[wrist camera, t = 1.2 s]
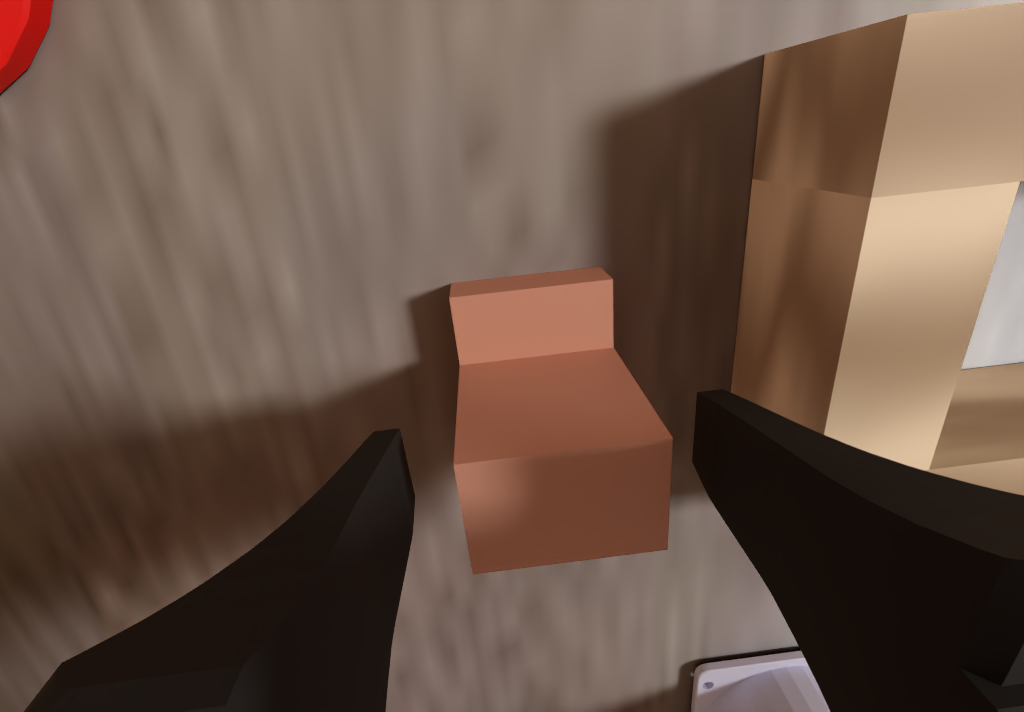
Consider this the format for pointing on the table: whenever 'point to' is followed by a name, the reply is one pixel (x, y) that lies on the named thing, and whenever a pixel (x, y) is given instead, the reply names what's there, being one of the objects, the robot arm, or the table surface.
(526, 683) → the table surface
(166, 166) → the table surface
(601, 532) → the terracotta step block
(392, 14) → the table surface
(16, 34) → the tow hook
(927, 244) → the wooden tray frame
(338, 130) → the table surface
